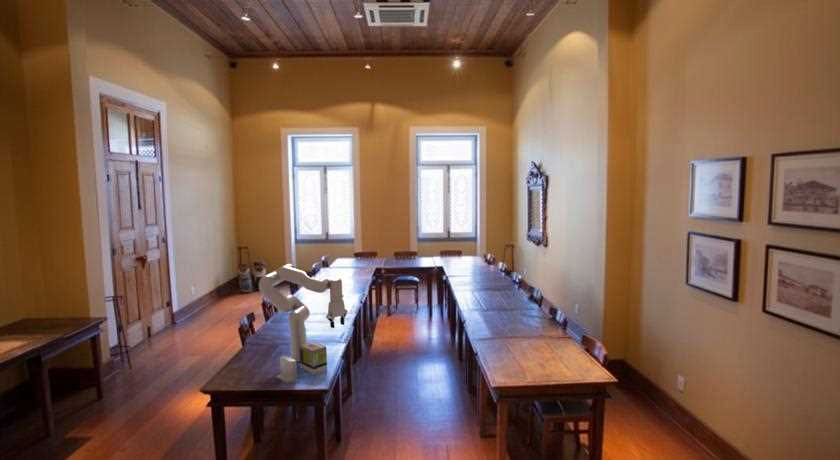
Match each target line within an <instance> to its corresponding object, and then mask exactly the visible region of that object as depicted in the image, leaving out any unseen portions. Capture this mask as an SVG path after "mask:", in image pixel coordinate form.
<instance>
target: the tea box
mask: <svg viewBox="0 0 840 460" xmlns="http://www.w3.org/2000/svg"><path fill="white" fill-rule="evenodd" d="M327 357H328V354H327V346H325V345H323V344H321V343H318V342H317V341H314V340H313V341H308V342H306V343H305V344H302V345H300V362H299V363H300V364H299V366H300V369H302V368H303V369H302V370H304V371H305V370H306V372H307V371H308V373H309V372H310V374H311V375H318V374H321V373H323V372H325V371H328V358H327ZM322 371H323V372H322ZM320 372H321V373H320ZM317 373H318V374H317Z"/></svg>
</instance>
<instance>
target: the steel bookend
mask: <svg viewBox="0 0 840 460" xmlns="http://www.w3.org/2000/svg"><path fill="white" fill-rule="evenodd" d="M279 365H280V374H279V375H276V377H275V378H278V379H280V380H281V381H280V380H279V381H280V382H282V381H283V382H282V383H284V382H285V384H286V383H287V384H286V385H290V384H292V382H293V383H295V382H297V381H298V372H297V371H298V368H297V362H296V360H294V359H292V358H290V356H288V355H285V354H284V355H281V356H279ZM278 379H277V380H278ZM296 380H297V381H296ZM294 381H295V382H294Z"/></svg>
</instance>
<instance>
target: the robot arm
mask: <svg viewBox="0 0 840 460" xmlns="http://www.w3.org/2000/svg"><path fill="white" fill-rule="evenodd" d="M284 281H287V282H291V283H294V284H297V285H300V286H301V287H303V289H306V290H308V291H311V292H314V293H320V294H321V293H322V294H323V293H325V292H326V291H328V290H329V300H330V301H328V306H327V309H328V310H327V313H328V314H326V316H325V318H326V319H327V321H328V322H329V325H330V328H331V329H335V318H338V317H340V318H339V321H340V325H343V326H345V319H346V317H347V314H348V310H347V309H346V308H345V307H346V306H345V302H344V299H343V298H344V294H343V280H342V279H341V278H338V277H334V278H332V277H322V278H321V279H319V280H318V279H315V278H311V277H310V276H308V275H307V273H306V271H304V270H301V269H297V268H296V266H295V265H294V264H292V263H286V264H284V265H282V266H280V267H279V268H277V269H276V270H273V271H272V272H269V273H267V274H265V275H263V276H262V277H261V278H260V280H259V282H258V289H259V292H260V293H261V295H262V296H263V297H264V298H266V299H267V301H269V303H271V304H272V305H273V306H274V307H275V308H276V309H277V310H278V311H279V312H281V314H288V313H289V312H290V314H289V315H288V320H287V322H288V326H289V332H290V333H289V334H290V350H289V353H290V354H291V355H290V356H289V357H290V358H292V359H294V360H296V363H300V362H299V361H300V345H302V344H305V343H307V332H306V331H307V330H306V326H305V321H307V319H309V318H310V314H311V313H310V310H309V308H308V307H307V306H306V304H304V303H303V302H302V301H301V300H300V299H299V298H297V296H295V295H293V294H287V295H285V294H283V293H282V292H281V291H280V290H279V289H276V288H275V287H274V286H276V285H278V284H280V283H282V282H284Z"/></svg>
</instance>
